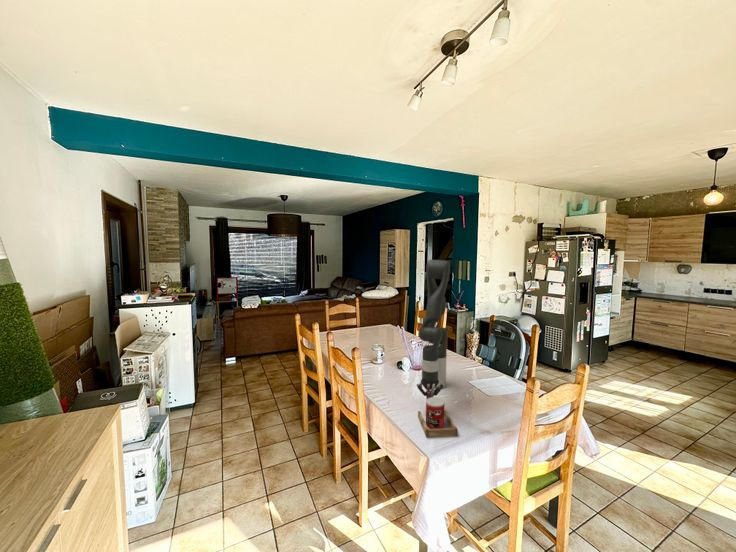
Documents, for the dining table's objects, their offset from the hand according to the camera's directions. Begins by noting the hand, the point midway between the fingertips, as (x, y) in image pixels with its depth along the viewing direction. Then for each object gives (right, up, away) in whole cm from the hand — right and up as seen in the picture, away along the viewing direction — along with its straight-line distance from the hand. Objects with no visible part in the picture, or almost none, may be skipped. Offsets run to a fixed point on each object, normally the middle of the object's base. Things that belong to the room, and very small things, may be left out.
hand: (429, 403), depth 145 cm
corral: (+1, -5, -12) cm, 13 cm away
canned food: (0, -5, -11) cm, 12 cm away
